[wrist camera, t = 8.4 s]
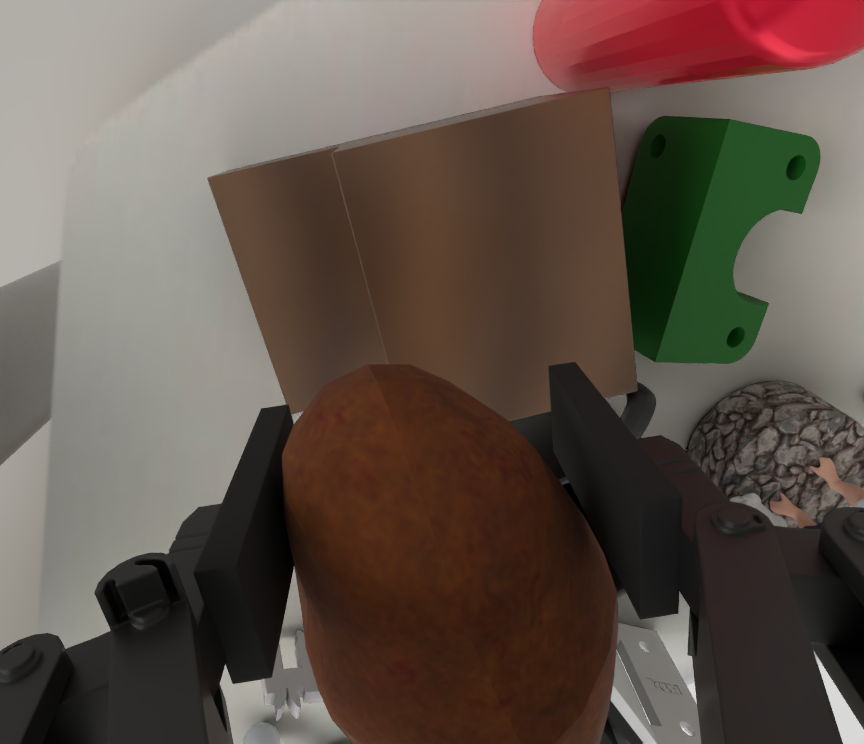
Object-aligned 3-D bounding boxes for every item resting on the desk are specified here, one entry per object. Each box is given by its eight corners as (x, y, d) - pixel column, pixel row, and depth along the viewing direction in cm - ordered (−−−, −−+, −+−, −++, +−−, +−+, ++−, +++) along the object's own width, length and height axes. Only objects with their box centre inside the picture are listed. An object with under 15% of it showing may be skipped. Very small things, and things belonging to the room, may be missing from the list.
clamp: (648, 281, 39) (726, 386, 33) (569, 275, 37) (637, 386, 31) (768, 95, 31) (898, 191, 25) (675, 74, 29) (794, 172, 23)
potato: (479, 294, 17) (631, 381, 9) (584, 606, 21) (749, 840, 13) (216, 403, 16) (152, 591, 9) (376, 705, 20) (428, 1013, 13)
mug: (652, 356, 36) (740, 431, 28) (565, 516, 40) (618, 626, 32) (529, 311, 35) (581, 376, 26) (450, 483, 39) (472, 590, 30)
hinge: (659, 632, 45) (732, 766, 36) (604, 673, 46) (661, 813, 37) (536, 530, 40) (583, 654, 31) (478, 579, 42) (507, 712, 32)
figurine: (803, 318, 36) (1162, 486, 20) (881, 399, 39) (1256, 607, 22) (626, 486, 40) (805, 748, 23) (709, 550, 42) (922, 825, 26)
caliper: (269, 638, 42) (252, 720, 36) (270, 626, 42) (254, 707, 36) (547, 665, 45) (572, 744, 40) (551, 654, 45) (577, 733, 39)
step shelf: (298, 384, 35) (271, 477, 26) (227, 170, 30) (162, 192, 21) (569, 320, 35) (638, 391, 26) (539, 96, 30) (610, 86, 21)
